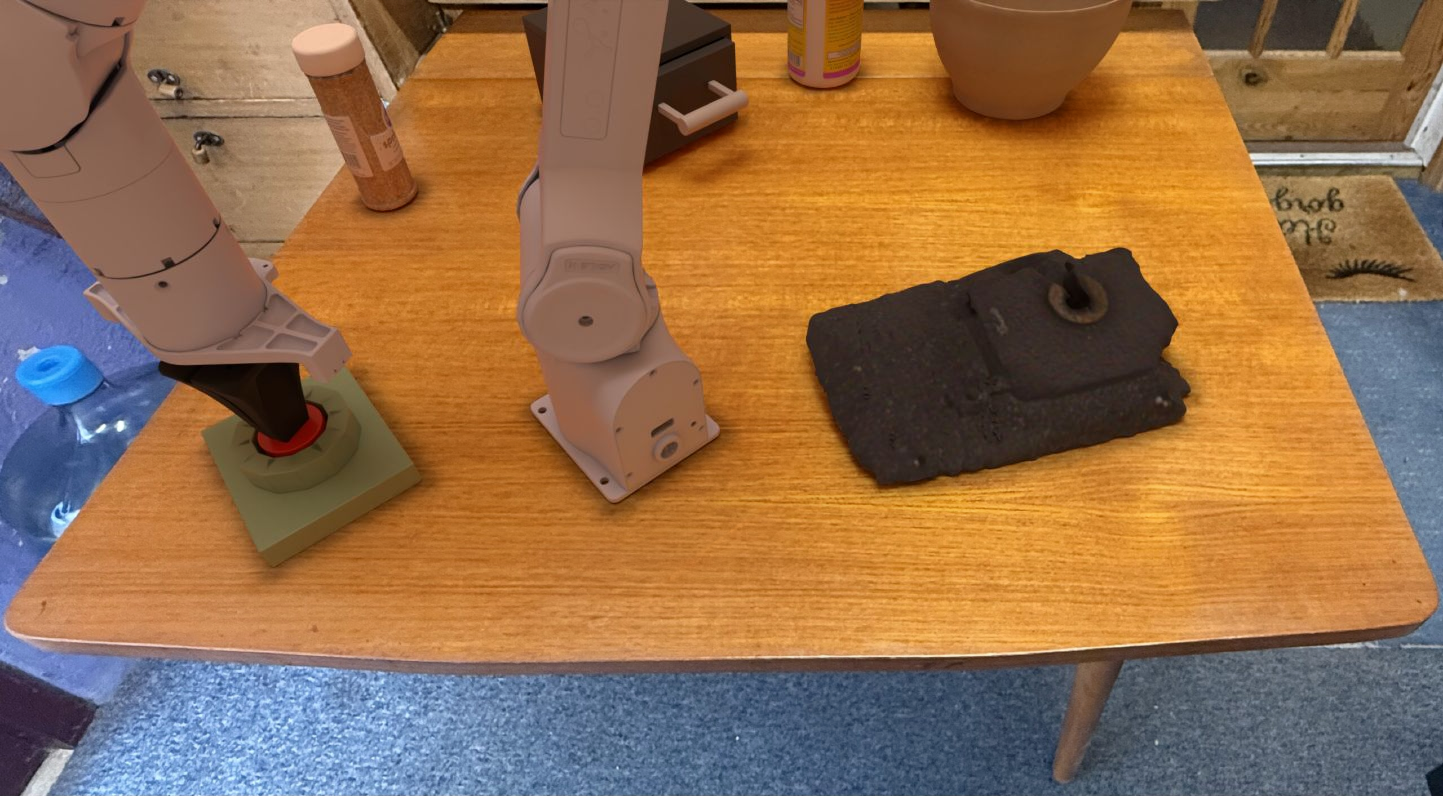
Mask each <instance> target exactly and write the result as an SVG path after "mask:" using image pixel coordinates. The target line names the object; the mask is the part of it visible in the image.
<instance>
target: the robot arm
mask: <svg viewBox="0 0 1443 796" xmlns="http://www.w3.org/2000/svg"><path fill="white" fill-rule="evenodd" d="M148 1H149V0H0V162H1V164H2V165H3V167H4V168H6V170H7V171H8V172H9V174H10V175H11V176H12V177H13V179H14V180H15V181H16V182H17V183H18V185H19V186H20V187H21V188H22V190H23V191H24V192H25V193H26V194H27V196H28V197H29V198H30V199H31V201H32V202H33V203H34V204H35V205H36V207H37V208H38V209H39V210H40V212H41V213H42V214H43V215H44V216H45V218H46V219H47V220H48V222H50V224H51V225H52V227H53V228H54V229H55V230H56V231H57V232H58V234H59V235H60V236H61V237H62V239H63V240H64V241H65V242H66V244H67V245H68V246H69V248H71V250H72V251H73V252H74V253H75V254H76V256H77V257H78V258H79V259H80V260H81V262H82V263H83V264H84V266H85V268H87V269H88V270H89V271H90V272H91V274H92V275H93V276H94V277H95V278H96V280H97V281H95V282H94V283H92V284H91V285H90V286H89V287H88V288H85V290H84V291H83V292H82V295H83V296H84V298H86V300H87V301H88V302H89V303H90V304H91V305H92V306H93V308H94V309H95V310H96V311H97V312H98V314H99V315H100V316H101V317H102V318H103V320H104V321H108V322H111V323H115V324H120V323H121V325H122V326H123V327H125V329H127V331H129V333H130V334H131V335H132V336H134V338H135V339H136V340H137V341H138V342H140V344H142V346H143V347H144V348H145V349H146V350H147V351H149V353H150V354H151V355H152V356H154V357H155V358H156V359H157V360H160V361H159V362H158V366H157V369H158V372H159V373H160V375H161V376H163V377H165V378H169V379H171V380H174V381H176V382H179V383H182V384H183V385H186V386H189V387H191V388H193V389H195V390H197V391H198V392H200V393H203V394H204V395H205V396H208V397H210V398H211V399H212V400H214V401H216V402H218V403H219V404H221V405H222V406H223V407H225V408H226V409H228V410H229V411H230V412H232V413H233V414H236V415H237V416H239V417H240V418H241V419H243V420H244V421H245V422H247V423H248V424H249V425H251V426H252V427H253V428H255V429H256V430H257V431H259V432H260V433H262V434H263V435H265V436H267V437H269V438H272V439H275V440H278V441H281V442H284V443H287V442H289V441H290V440H291V439H292V438H293V436H294V435H295V434H296V433H297V432H298V431H299V430H300V429H301V427H302V426H303V425H304V424H305V423H306V422H307V421H308V419H309V414H308V410H307V406H306V402H305V398H304V394H303V389H302V385H301V380H302V379H301V371H300V365H302V366H303V367H304V368H305V369H306V371H307V372H308V374H309V376H311V377H312V378H313V379H314V380H317V381H321V382H325V383H329V382H330V380H331V379H332V378H333V377H334V376H335V375H336V374H337V373H338V372H339V371H340V370H341V369H342V368H343V367H344V366H345V365H346V363H348V361H350V359H351V358H352V357H353V356H354V354H353V352H352V350H351V348H350V347H349V344H348V343H347V341H346V340H345V338H344V336H343V335H342V332H341V331H340V329H339V327H336V326H333V325H330V324H327V323H325V322H323V321H320V320H319V319H317V318H316V317H314V316H312V315H311V314H310V313H308V312H307V311H306V310H304V309H303V308H302V307H301V306H300V305H298V304H297V303H296V302H295V301H293V300H292V299H290V297H288V295H286V294H284V293H283V292H282V291H281V290H279V289H278V288H277V287H276V286H274V284H272V283H273V282H274V281H275V280H276V279H277V278H278V277H279V274H280V273H279V270H278V269H277V267H276V265H275V263H273V262H272V261H269V260H266V259H261V258H257V257H250V256H249V257H247V255H246V253H245V252H244V250H243V248H242V247H241V245H240V244H239V242H238V240H237V238H236V237H235V235H234V234H233V232H232V231H231V229H230V228H229V226H228V224H227V222H226V220H225V219H224V218H223V216H222V214H221V212H220V211H219V210H218V208H217V207H216V206H215V204H214V202H213V200H212V199H211V197H210V196H209V194H208V192H207V191H206V189H205V187H204V186H203V184H202V183H201V181H200V179H199V178H198V177H197V175H196V173H195V171H194V170H193V168H192V167H191V165H190V163H189V161H188V160H187V158H186V156H185V155H184V154H183V152H182V151H181V148H180V147H179V146H178V144H177V142H176V141H175V139H174V137H173V136H172V134H171V133H170V131H169V129H168V128H167V126H166V124H165V123H164V122H163V121H164V120H162V118H161V117H160V115H159V114H158V111H157V110H156V109H155V107H154V106H153V104H152V102H151V101H150V99H149V98H148V96H147V95H146V94H147V90H146V88H145V87H144V86H143V84H142V82H141V80H140V79H139V77H138V76H137V74H136V72H135V70H134V68H133V66H132V63H131V51H132V47H133V45H134V35H135V33H134V32H135V30H134V29H135V28H134V27H135V26H136V24H137V22H138V20H139V18H140V17H141V14H142V13H143V11H144V9H145V7H146V5H147V3H148ZM668 3H669V0H547V7H548V14H547V33H546V53H545V72H544V91H543V106H542V111H541V112H542V113H541V126H540V130H539V133H538V143H537V144H538V146H537V148H538V149H537V154H536V155H537V156H536V160H535V162H534V163H535V164H534V166H533V168H532V169H531V171H530V173H529V174H528V175H527V177H526V178H525V179H524V180H523V182H522V184H521V186H520V188H519V191H518V194H517V198H516V216H517V219H518V223H519V270H520V271H519V283H520V284H519V285H520V286H519V288H520V289H519V291H520V292H519V293H518V297H517V305H516V321H517V325H518V327H519V329H520V332H521V334H522V336H523V337H524V338H525V340H526V341H527V342H528V343H529V344H530V345H531V346H532V347H533V349H534V350H533V351H534V353H535V356H536V359H537V362H538V365H539V368H540V372H541V374H542V377H543V381H544V383H545V387H546V390H547V394H545V395H543V396H542V397H540V398H539V399H536V400H534V402H532V403H531V404H530V406H529V407H530V411H531V413H532V415H533V416H534V417H535V418H536V419H537V420H538V422H539V423H540V424H541V425H542V426H543V428H544V429H545V430H546V431H547V432H548V433H549V434H550V436H551V437H552V438H553V439H554V441H556V443H557V444H558V445H559V446H560V447H561V448H562V449H563V451H564V452H565V453H566V454H567V455H568V456H569V457H570V458H571V460H572V461H573V462H574V463H575V464H576V465H577V467H578V468H579V469H580V471H582V472H583V474H584V475H585V477H587V478H588V479H589V480H590V481H591V483H592V484H593V485H594V486H595V488H597V489H598V491H599V492H600V493H601V494H602V495H603V497H605V499H606V500H607V501H608V502H609V503H612V504H614V503H620V502H621V501H622V500H624V499H625V498H627V497H628V496H630V495H631V494H633V493H635V492H636V491H637V490H639V489H640V488H642V487H644V486H645V485H646V484H648V483H649V482H651V481H653V480H654V479H656V478H657V477H659V476H660V475H662V474H664V473H665V472H666V471H667V470H669V469H671V468H672V467H675V465H676V464H678V463H680V462H681V461H683V460H684V459H686V458H687V457H689V456H690V455H692V454H694V453H695V452H697V451H698V450H700V449H701V448H702V447H704V446H705V445H707V444H709V443H710V442H711V441H713V440H714V439H716V438H717V437H718V436H719V435H720V433H721V431H720V425H719V424H718V423H717V422H716V421H715V420H714V419H713V418H712V417H711V416H709V415H708V414H707V412H706V403H705V395H704V385H703V377H702V373H701V370H700V368H699V367H698V366H697V364H696V363H695V362H694V360H693V359H692V358H690V356H689V355H687V353H685V351H684V350H683V349H682V348H681V347H680V346H679V345H678V343H677V341H676V340H675V339H674V337H673V335H672V334H671V332H670V330H669V328H668V325H667V322H666V321H665V319H664V316H663V315H664V314H663V311H662V306H661V302H660V296H659V290H658V288H657V284H656V282H655V280H654V278H653V277H652V276H650V275H649V274H648V272H647V271H646V269H645V268H644V267H643V261H642V255H643V247H644V231H643V230H644V223H643V222H644V220H643V218H644V217H643V213H644V212H643V172H644V171H643V170H644V166H645V165H644V158H645V152H646V145H647V139H648V132H649V126H650V119H651V113H652V106H653V100H654V94H655V87H656V81H657V74H658V68H659V61H660V55H661V48H662V42H663V35H664V29H665V22H666V16H667V9H668ZM604 482H607V483H606V484H603V483H604Z"/></svg>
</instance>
